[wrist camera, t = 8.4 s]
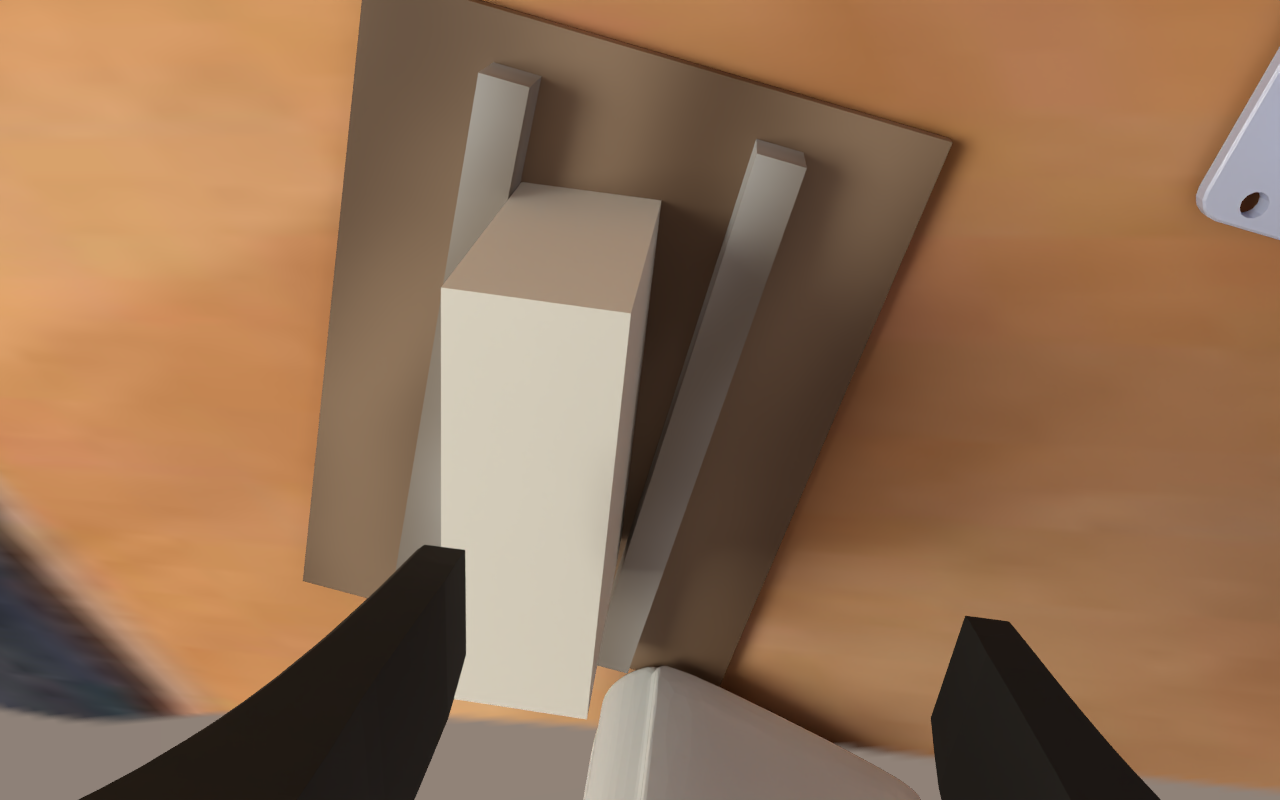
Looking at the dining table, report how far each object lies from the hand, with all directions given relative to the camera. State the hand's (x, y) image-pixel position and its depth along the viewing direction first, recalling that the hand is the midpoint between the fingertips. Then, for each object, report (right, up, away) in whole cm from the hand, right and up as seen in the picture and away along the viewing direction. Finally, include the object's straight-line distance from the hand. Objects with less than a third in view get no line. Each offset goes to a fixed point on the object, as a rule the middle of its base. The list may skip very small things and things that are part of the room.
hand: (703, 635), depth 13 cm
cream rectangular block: (-2, +4, +8) cm, 10 cm away
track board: (-2, +4, +9) cm, 10 cm away
